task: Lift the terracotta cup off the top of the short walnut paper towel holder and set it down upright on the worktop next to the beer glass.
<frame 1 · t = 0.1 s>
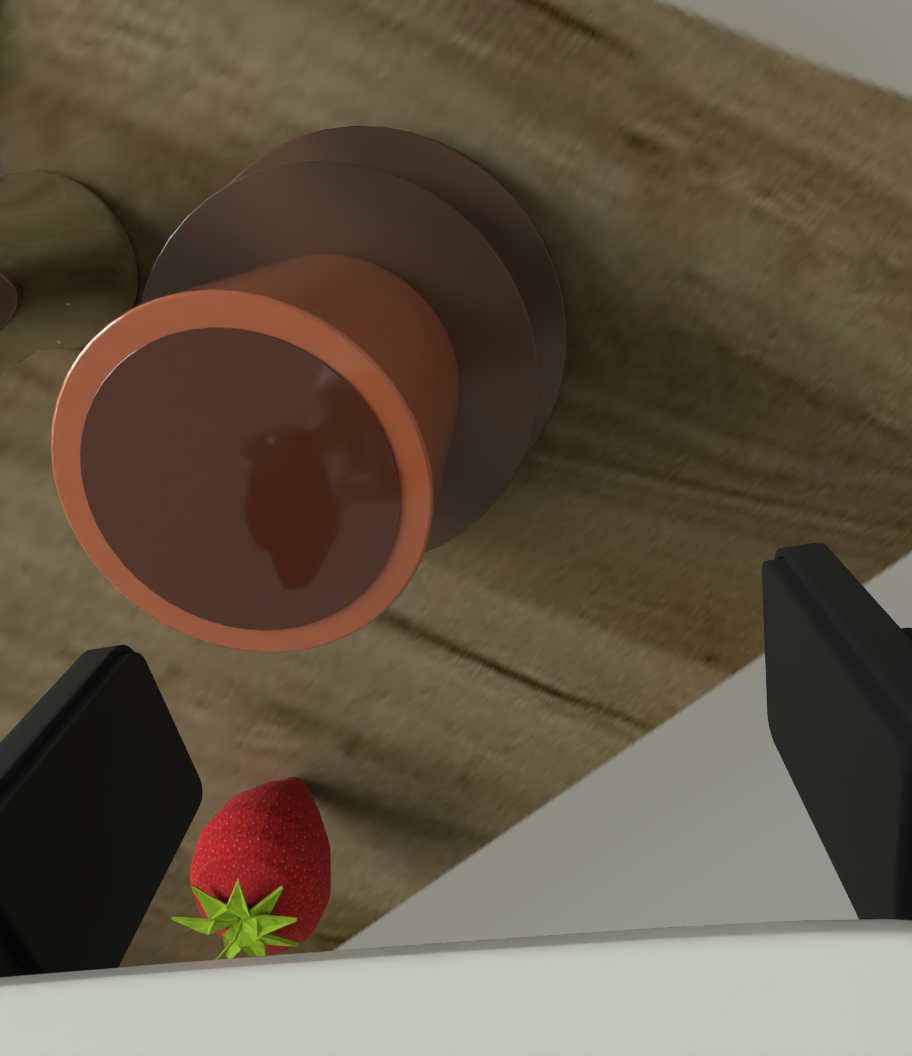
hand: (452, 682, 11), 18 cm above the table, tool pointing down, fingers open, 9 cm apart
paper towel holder: (376, 341, 27), on the table
beer glass: (61, 262, 27), on the table
terracotta cup: (335, 387, 21), point 7 cm above the table, touching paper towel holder
strawberry: (296, 781, 37), on the table
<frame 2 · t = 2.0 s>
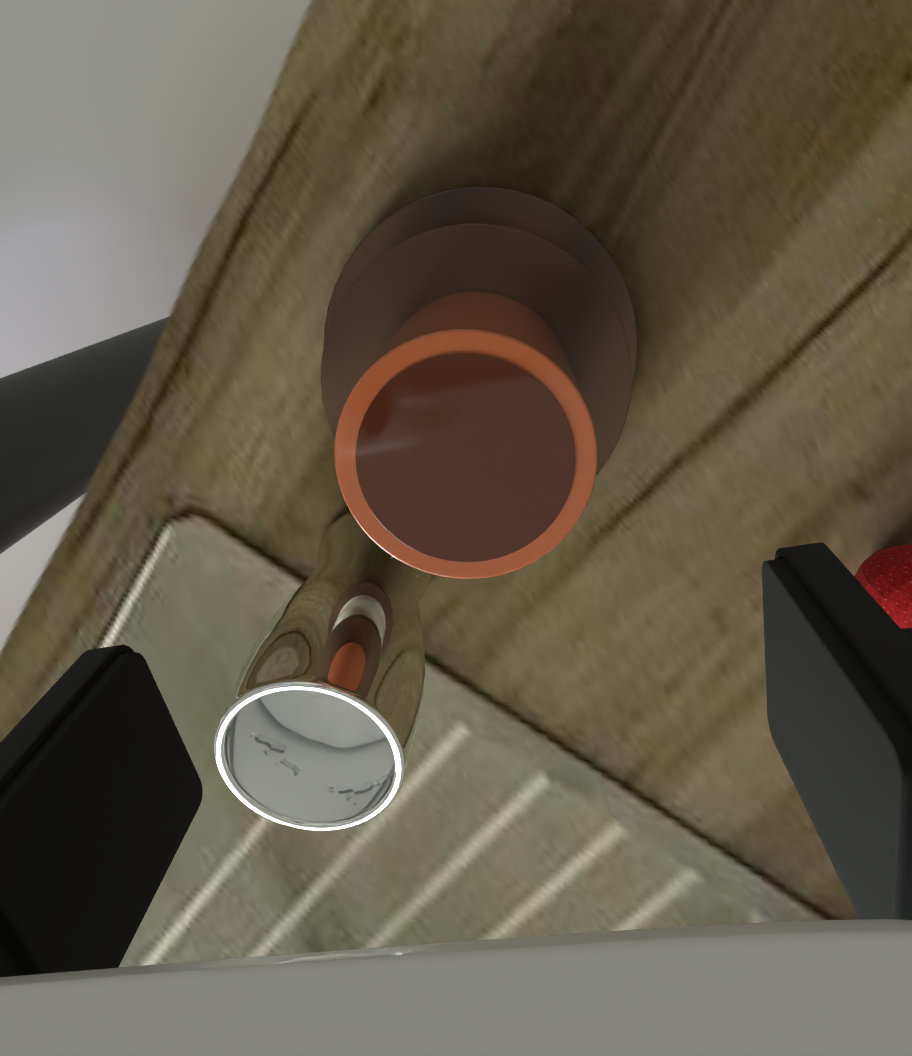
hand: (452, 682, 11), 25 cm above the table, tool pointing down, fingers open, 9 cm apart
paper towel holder: (479, 354, 33), on the table
beer glass: (377, 557, 38), on the table
terracotta cup: (474, 391, 27), point 7 cm above the table, touching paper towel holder
strawberry: (880, 556, 37), on the table
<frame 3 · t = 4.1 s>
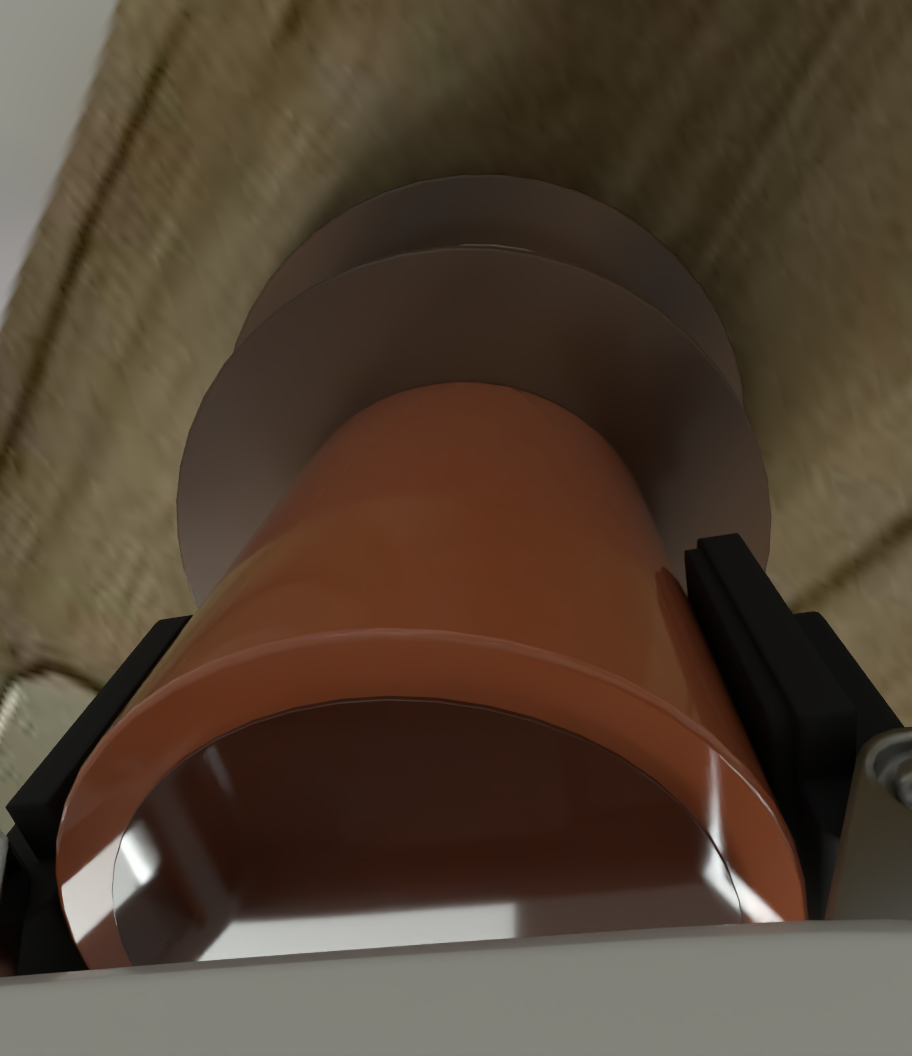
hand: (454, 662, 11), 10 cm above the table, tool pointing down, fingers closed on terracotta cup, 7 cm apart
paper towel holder: (479, 448, 21), on the table
terracotta cup: (465, 562, 14), point 7 cm above the table, touching gripper, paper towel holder
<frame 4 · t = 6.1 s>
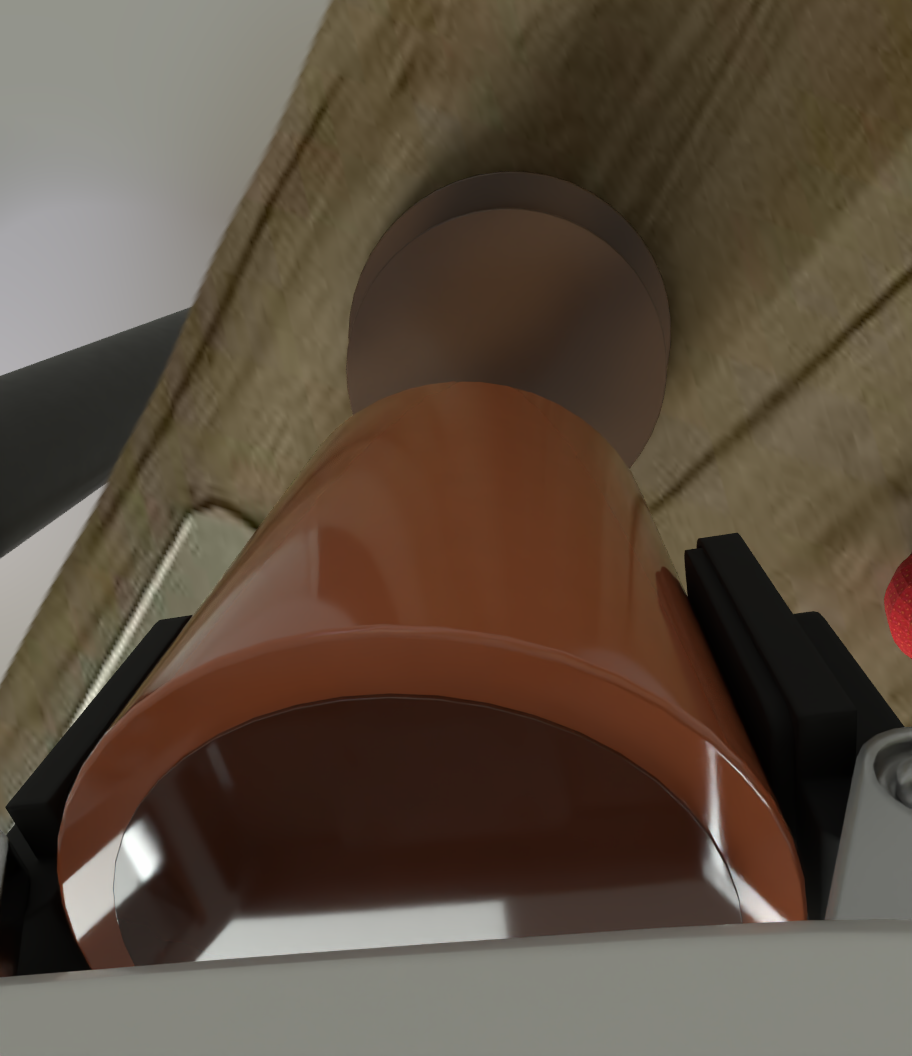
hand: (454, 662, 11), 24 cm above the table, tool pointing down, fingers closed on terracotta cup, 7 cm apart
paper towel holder: (507, 344, 32), on the table
terracotta cup: (466, 561, 14), point 20 cm above the table, touching gripper
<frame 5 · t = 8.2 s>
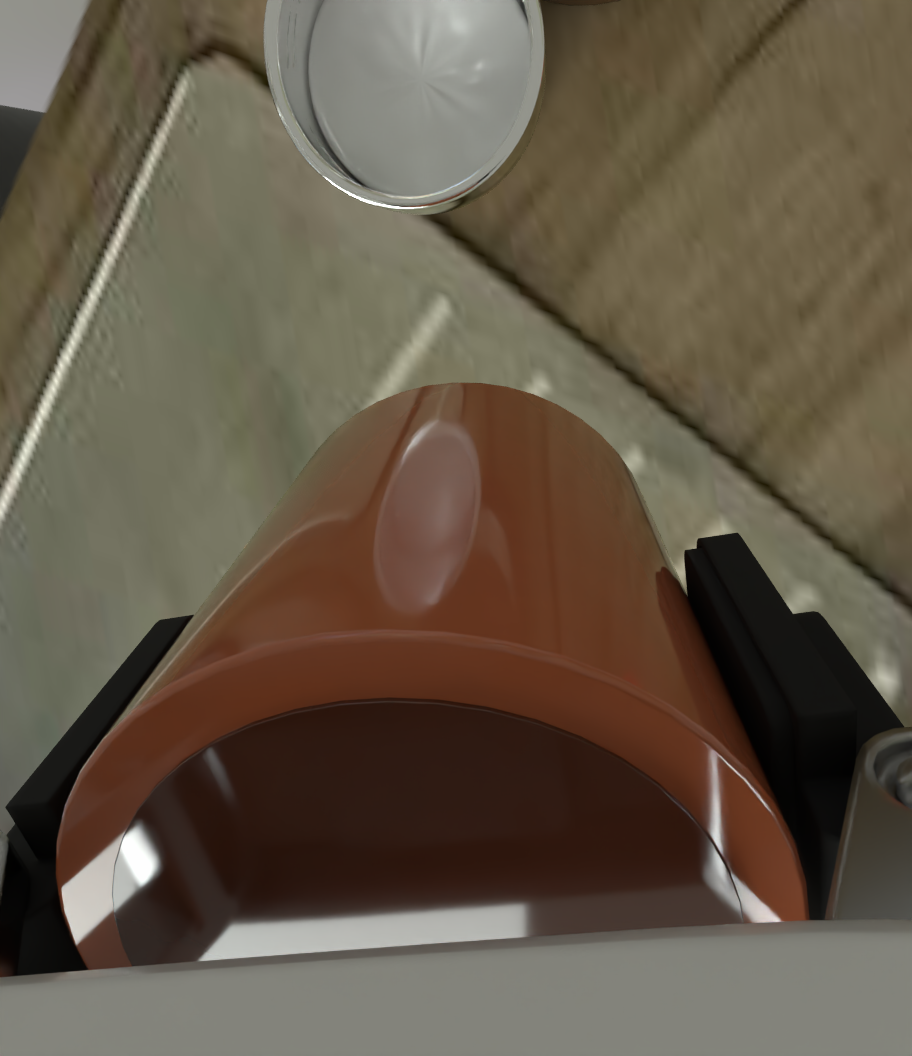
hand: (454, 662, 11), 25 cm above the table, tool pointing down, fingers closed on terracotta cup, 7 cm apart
beer glass: (448, 116, 30), on the table
terracotta cup: (466, 562, 14), point 22 cm above the table, touching gripper
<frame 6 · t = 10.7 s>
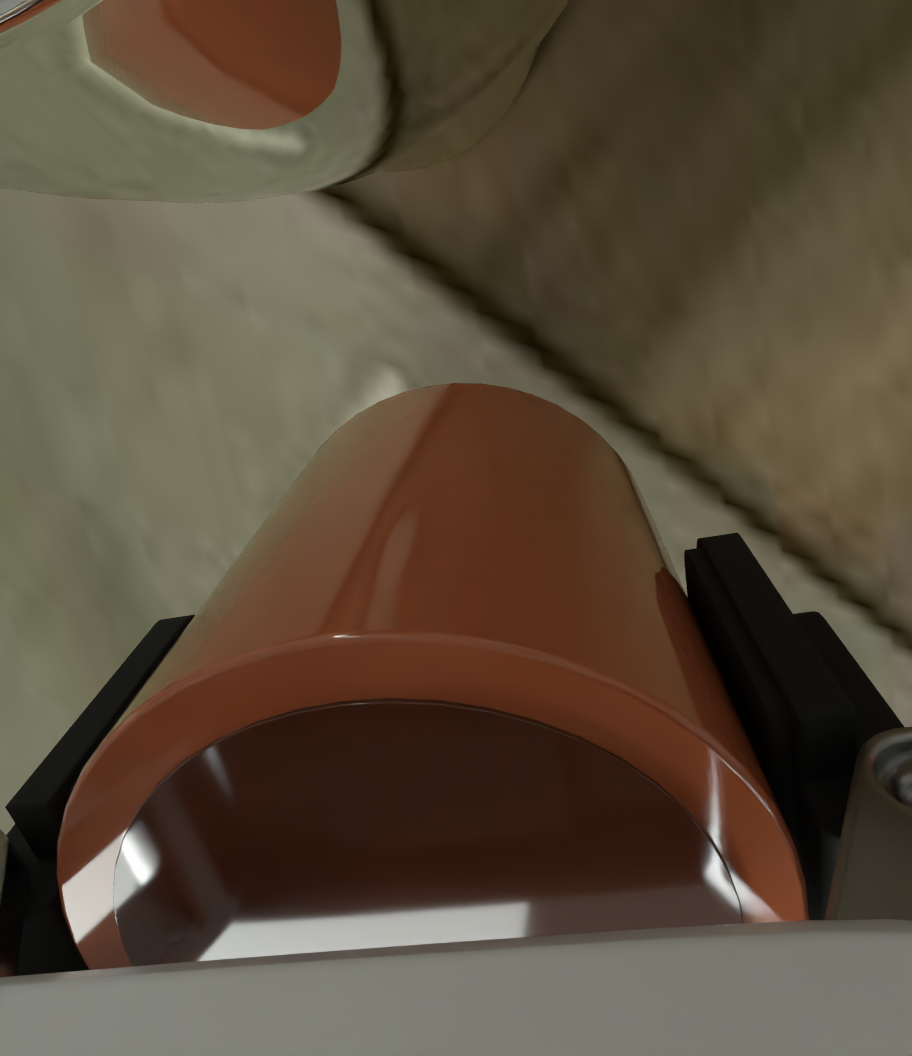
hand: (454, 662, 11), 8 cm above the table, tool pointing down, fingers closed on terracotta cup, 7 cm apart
terracotta cup: (466, 563, 14), point 4 cm above the table, touching gripper
when the fingers open (3 cm above the table, at t = 12.5 s): terracotta cup stays where it is, on the table.
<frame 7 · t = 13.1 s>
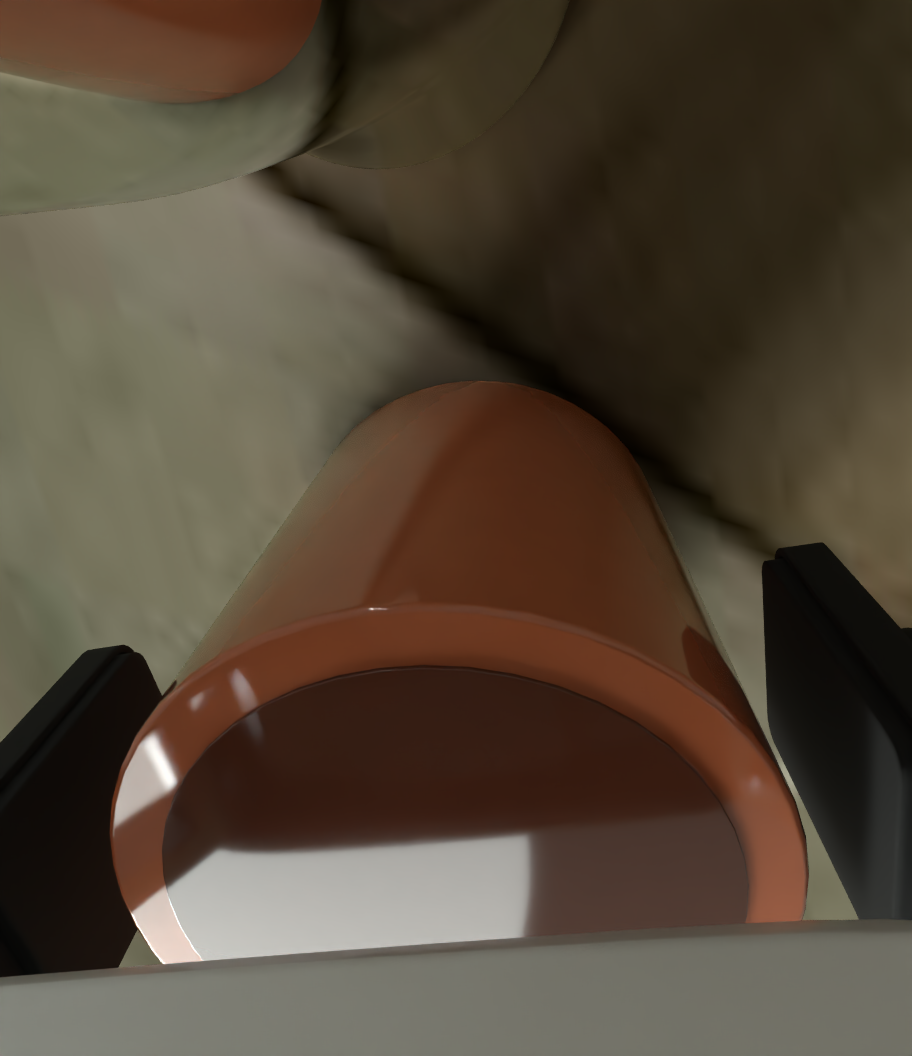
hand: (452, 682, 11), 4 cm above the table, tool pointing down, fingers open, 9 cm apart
terracotta cup: (480, 554, 15), on the table
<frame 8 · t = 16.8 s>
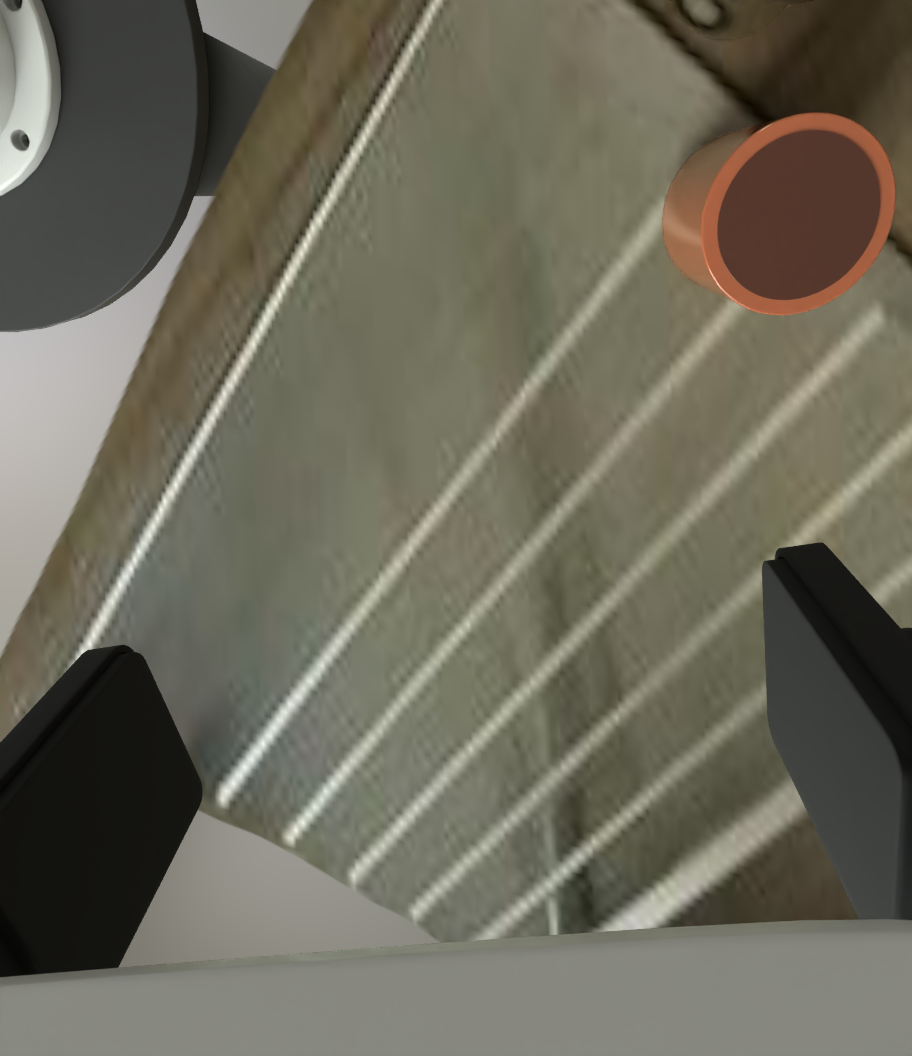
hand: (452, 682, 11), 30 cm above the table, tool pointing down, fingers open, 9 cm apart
terracotta cup: (737, 213, 35), on the table
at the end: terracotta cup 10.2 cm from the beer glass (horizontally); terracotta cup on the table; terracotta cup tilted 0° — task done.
